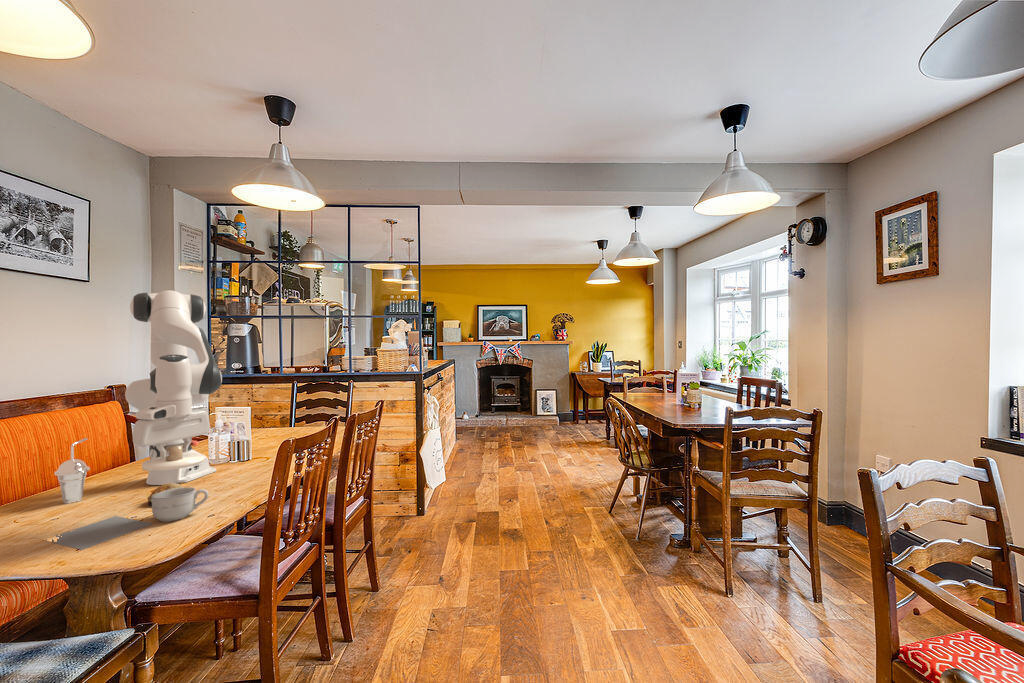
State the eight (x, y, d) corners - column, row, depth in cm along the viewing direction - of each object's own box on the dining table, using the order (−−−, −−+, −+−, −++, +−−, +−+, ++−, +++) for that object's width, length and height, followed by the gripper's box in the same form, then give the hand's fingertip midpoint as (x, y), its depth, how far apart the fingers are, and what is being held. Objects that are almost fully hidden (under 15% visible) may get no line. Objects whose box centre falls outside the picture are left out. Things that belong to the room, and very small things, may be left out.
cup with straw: (49, 503, 148) (48, 442, 148) (84, 494, 156) (84, 437, 156) (61, 507, 144) (60, 445, 144) (97, 498, 153) (96, 439, 152)
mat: (115, 517, 136) (115, 516, 136) (153, 525, 131) (153, 523, 131) (41, 541, 120) (41, 539, 120) (81, 551, 115) (81, 549, 115)
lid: (182, 455, 145) (182, 438, 145) (216, 459, 140) (216, 442, 140) (129, 467, 131) (129, 449, 131) (164, 473, 126) (164, 454, 126)
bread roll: (183, 514, 148) (195, 489, 151) (147, 509, 141) (160, 483, 144) (175, 506, 155) (187, 483, 157) (141, 501, 148) (154, 477, 150)
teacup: (143, 527, 129) (143, 499, 129) (162, 513, 140) (161, 487, 140) (199, 521, 133) (199, 494, 133) (213, 508, 143) (213, 483, 143)
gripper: (200, 403, 146) (201, 446, 146) (129, 413, 127) (129, 462, 127) (214, 404, 144) (215, 447, 144) (143, 415, 125) (144, 465, 125)
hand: (174, 455), depth 135 cm, fingers closed on lid, 4 cm apart
